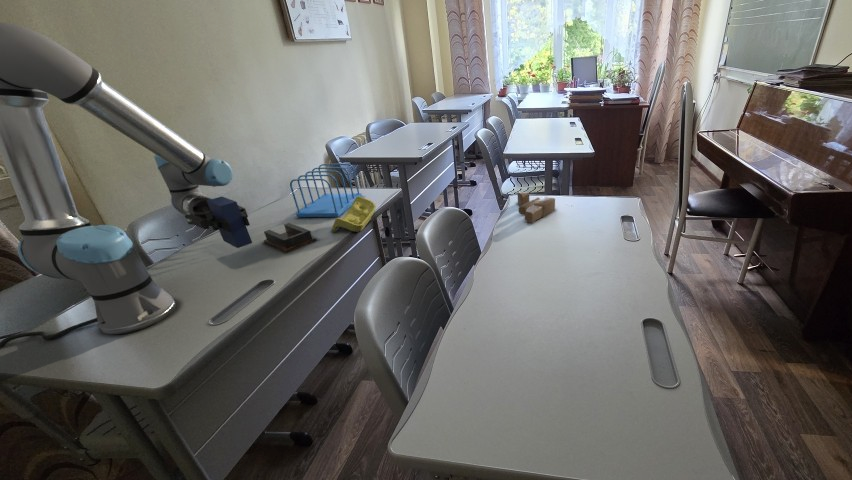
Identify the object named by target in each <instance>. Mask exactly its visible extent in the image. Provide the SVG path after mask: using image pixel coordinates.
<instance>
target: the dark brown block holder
mask: <svg viewBox="0 0 852 480" xmlns="http://www.w3.org/2000/svg"><path fill="white" fill-rule="evenodd" d="M283 227H284V229H285V232H282V233H278V232H276V231H274V230H271V229H267V230H264V231H263V234H264V236H265V239H263V243H264V244H266V245H269V246H271V247H273V248H275V249H277V250H279V251H283V252H284V253H288V252H292V251H294V250H296V249H299V248H301V247H304V246H306V245H308V244H311V243H314V242H316V241H317V238H316V237H314V236H312V232H311V230H310V229H307V228H304V227H301V226H300V225H299V226H298V225H296V224H293V223H291V222H288V223H285V224H283Z"/></svg>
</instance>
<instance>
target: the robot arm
mask: <svg viewBox="0 0 852 480" xmlns="http://www.w3.org/2000/svg"><path fill="white" fill-rule="evenodd" d="M48 94H49V95H51V96H52V97H55V98H57V99H58V100H60V101H61V102H63V103H65V104H67V105H76V106H79V107H80V108H81V109H83V110H85V111H87V112H88V113H90V114H91V115H93V116H94V117H96V118H97V119H99V120H101V121H102V122H104V123H105V124H107V125H108V126H110V127H111V128H113V129H115V130H116V131H117V132H119V133H120V134H123V135H124V136H125V137H127V138H129V139H130V140H132V141H134V142H135V143H137V144H138V145H140V146H142V147H143V148H145V149H146V150H148V151H150V152H151V153H153V154H154V156H153V158H154V160H155V163H156V166H157V170H158V171H159V173H160V175H161V177H162V179H163V181H164V183H165V184H166V187H167V189H168V192H169V195H170V203H171V205H172V207H173V208H174V209H175V210H176V211H177V212H179V213H180V214H183V215H184V217H185V220H186V222H187V224H188V225H191V226H193V225H194V226H196V227H198V228H201V229H203V230H208V229H210V227H212V230H213V231H219V228H221V229H224V230H226V231H228V232H230V231H232V230H231V228H230V226H229V223H228V221H226V220H223V219H221V218H219V217H216V218H215V219H214V217H213V215H212V213H211V210H210V208H209V206H208V203H207V200H210V199H212V197H208V196H207V195H204V194H203V193H202V190H201V189H200V186H202V187H204V186H205V187H212V188H214V187H225V186H228V185H229V184H230V183H231V182H232V179H233V177H234V176H233V175H234V174H233V169H232V167H231V166H230V164H229V163H228V162H227V161H225V160H222V159H218V158H211V157H210V156H208V155H207V154H206V153H204V152H202V151H201V150H200V149H199V148H198V147H196V146H194V145H193V144H192V143H190V142H189V141H188V140H186V139H185V138H184V137H182V136H180V135H179V134H178V133H176V132H175V131H173V130H172V129H171V128H169V127H168V126H167V125H165V124H164V123H163V122H161V121H160V120H158V119H157V118H155V117H154V116H153V115H152V114H150V113H149V112H147V111H146V110H145V109H143V108H142V107H141V106H139V105H138V104H136V103H135V102H133V101H132V100H131V99H129V98H128V97H126V96H125V95H124V94H122V93H121V92H119V91H118V90H117V89H115V88H114V87H112V86H111V85H110V84H108V83H107V82H105V80H103V78H102V75H101V73H100V72H99V71H98V70H97V69H95V68H94V67H93V66H91V64H89V63H87V62H86V61H85V60H83V59H82V58H80V57H79V56H77V55H76V54H74V53H73V52H72V51H70V50H69V49H67V48H65V47H64V46H63V45H61V44H59V43H58V42H56V41H54V40H53V39H51V38H50V37H47V36H46V35H43V34H42V33H40V32H39V31H35V30H33V29H31V28H29V27H26V26H23V25H19V24H15V23H9V22H0V157H1V159H2V161H3V164H4V167H5V169H6V172H7V174H8V177H9V179H10V182H11V185H12V187H13V190H14V193H15V195H16V198H17V200H18V203H19V205H20V208H21V211H22V213H23V216H24V221H23V222H22V223H21V224H20V225H19V226H18V230H19V233H20V235H21V237H22V238H21V240H20V242H19V243H18V245H17V254H18V257H19V260H20V262H22V264H23V265H24V266H25V267H26V268H28V269H29V270H31V271H32V272H35V273H36V274H39V275H42V276H45V277H48V278H52V279H59V280H60V279H64V280H70V281H78V282H80V283H81V284H82V286H83V287H84V288H85V290H86V292H87V293H88V294H89V296H90V297H91V298H92V300H93V302H94V307H95V308H94V309H95V314H96V317H95V318H91V319H88V320H86V321H83V322H80V323H77V324H75V325H72V326H69V327H66V328H65V329H63V330H61V331H60V330H59V331H58V332H56V333H54V334H48V333H47V331H43V330H40V331H39V330H38V331H28V332H27V331H26V332H21V333H17V334H12V335H10V336H7V337H5V338H4V339H2V340H0V348H3V347H5V346H6V345H7V344H8V343H9V342H11V341H13V340H17V339H20V338H27V337H39V336H41V338H42V339H43V340H48V341H49V340H53V339H54V340H55V339H57V338H59V337H62V336H63V335H66V334H68V333H70V332H72V331H75V330H78V329H80V328H83V327H86V326H89V325H92V324H95V323H97V325H98V327H99V328H100V330H101V331H102V332H103V333H105V334H107V335H123V334H128V333H132V332H136V331H140V330H143V329H145V328H148V327H151V326H153V325H155V324H157V323H159V322H161V321H162V320H164V319H165V318H168V317H169V316H170V315H171V314H172V313H173V312H174V311H175V310H176V308H177V303H176V301H175V299H174V297H173V296H171V295H170V294H169V293H168V292H167V291H166V290H165V289H164V288H162V287H161V286H160V285H158V284H157V283H156V282H155V281H154V280H153V278H152V276H151V274H150V273H149V271H148V270H147V267H146V266H145V264H144V262H143V260H142V259H141V257H140V255H139V253H138V252H137V250H136V248H135V246H134V244H133V241H132V240H131V238H130V237H129V236H128V235H127V233H126V232H125V231H124V230H123V229H121V228H120V227H118V226H114V225H109V224H98V225H92V224H91V221H90V220H89V219H87V218H85V217H83V216H81V215H80V214H79V213H78V210H77V207H76V203H75V201H74V197H73V195H72V192H71V189H70V186H69V183H68V180H67V178H66V174H65V172H64V168H63V166H62V163H61V159H60V156H59V154H58V152H57V149H56V145H55V143H54V142H55V141H54V139H53V136H52V134H51V130H50V128H49V124H48V122H47V119H46V116H45V113H44V110H43V109H44V107H45V106H46V105H47V104H48V103H49V102H50V99H49V96H48ZM237 205H238V207H239V210H240V212H241V215H242V217H243V220H244V222H245V225H246V227H250V226H251V224H250V221H249V219H248V218H249V215H248V212H247V209H246V208H245V207H243V206H241V205H240V204H237Z"/></svg>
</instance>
